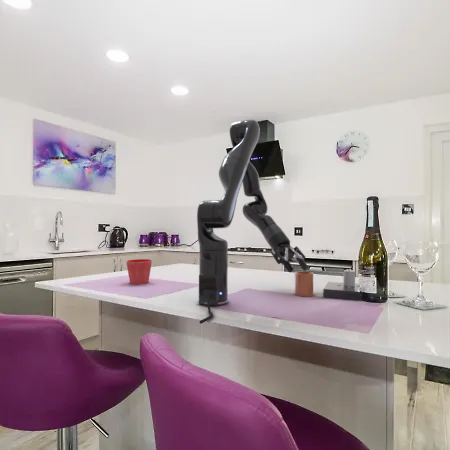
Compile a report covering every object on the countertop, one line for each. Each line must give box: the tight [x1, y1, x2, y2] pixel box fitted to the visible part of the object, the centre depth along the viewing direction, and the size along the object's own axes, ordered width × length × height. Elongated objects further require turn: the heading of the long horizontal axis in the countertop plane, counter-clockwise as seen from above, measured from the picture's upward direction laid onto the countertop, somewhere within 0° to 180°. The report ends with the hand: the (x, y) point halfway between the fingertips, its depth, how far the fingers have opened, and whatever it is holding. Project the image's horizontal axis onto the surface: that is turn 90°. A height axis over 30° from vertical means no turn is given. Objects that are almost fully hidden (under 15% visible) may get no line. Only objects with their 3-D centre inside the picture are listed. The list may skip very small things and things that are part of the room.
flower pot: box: [126, 258, 153, 285], centre depth 144 cm, size 11×11×10 cm
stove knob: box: [343, 268, 356, 287], centre depth 121 cm, size 4×4×6 cm
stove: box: [322, 281, 362, 302], centre depth 120 cm, size 16×12×3 cm
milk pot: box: [294, 270, 314, 298], centre depth 120 cm, size 6×6×8 cm
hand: (299, 270), depth 121 cm, fingers open, 8 cm apart
